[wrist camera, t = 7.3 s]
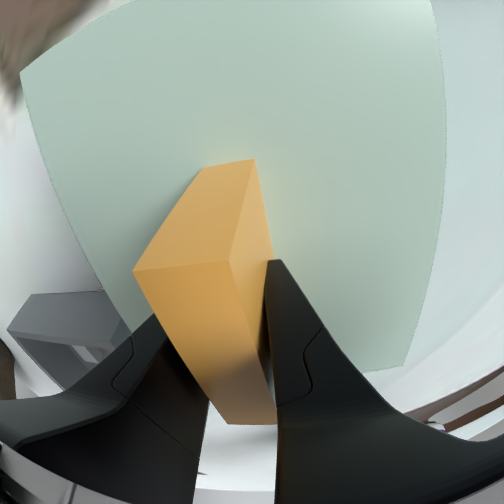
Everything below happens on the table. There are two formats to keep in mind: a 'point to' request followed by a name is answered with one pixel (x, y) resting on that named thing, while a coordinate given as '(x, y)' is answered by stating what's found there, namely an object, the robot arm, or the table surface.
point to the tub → (69, 333)
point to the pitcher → (6, 374)
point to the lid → (251, 172)
